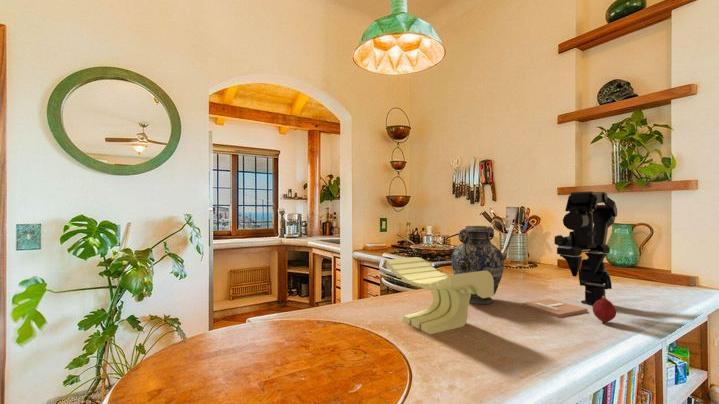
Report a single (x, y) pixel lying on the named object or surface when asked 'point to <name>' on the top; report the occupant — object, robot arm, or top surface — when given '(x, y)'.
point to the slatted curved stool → (441, 293)
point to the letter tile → (554, 307)
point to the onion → (604, 310)
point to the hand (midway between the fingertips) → (583, 275)
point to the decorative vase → (478, 257)
